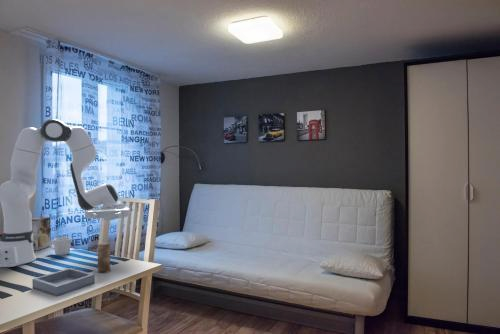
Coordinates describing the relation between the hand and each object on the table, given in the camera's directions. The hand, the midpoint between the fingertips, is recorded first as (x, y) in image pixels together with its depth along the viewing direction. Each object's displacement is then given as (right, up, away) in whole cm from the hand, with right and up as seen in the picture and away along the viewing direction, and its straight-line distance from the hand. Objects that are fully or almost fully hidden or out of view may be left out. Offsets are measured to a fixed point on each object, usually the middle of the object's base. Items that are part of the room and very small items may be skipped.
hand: (106, 215), depth 163 cm
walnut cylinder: (+3, -23, -11) cm, 25 cm away
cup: (-30, -22, +14) cm, 40 cm away
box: (-5, -23, -28) cm, 37 cm away
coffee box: (-47, -21, +26) cm, 58 cm away
